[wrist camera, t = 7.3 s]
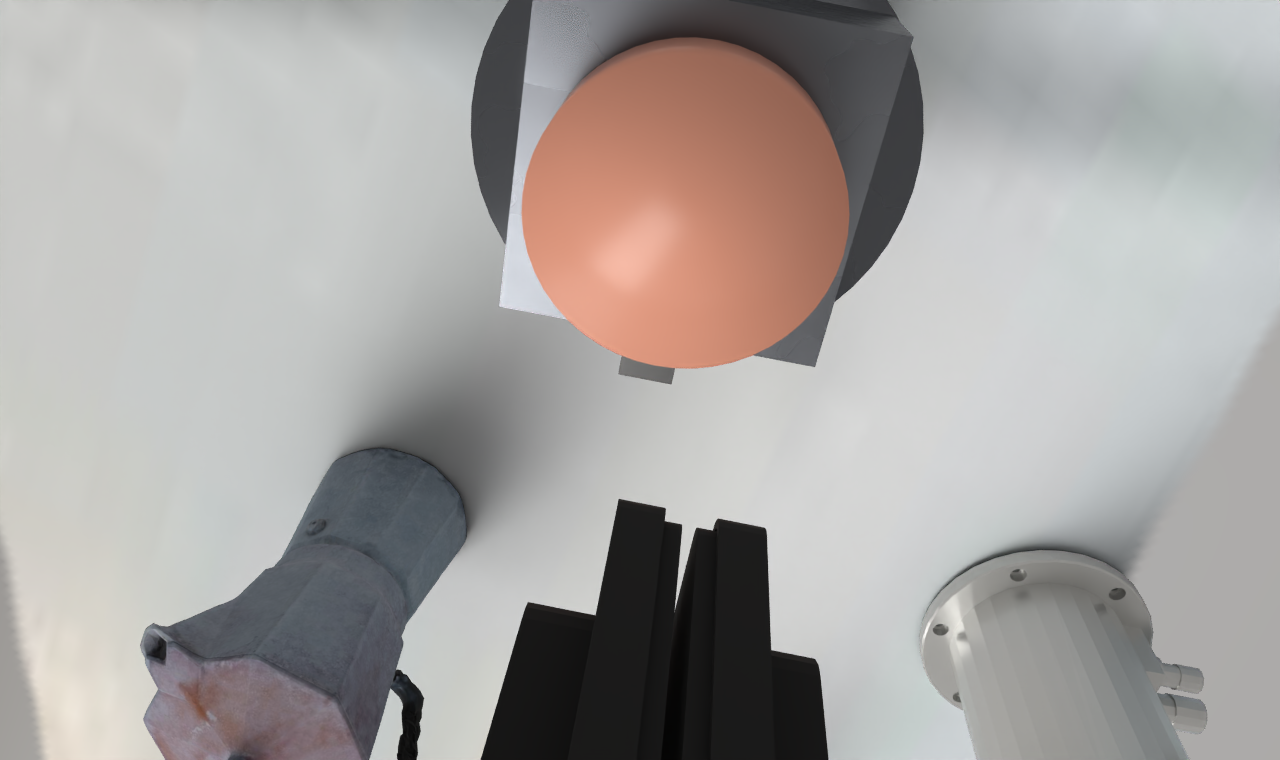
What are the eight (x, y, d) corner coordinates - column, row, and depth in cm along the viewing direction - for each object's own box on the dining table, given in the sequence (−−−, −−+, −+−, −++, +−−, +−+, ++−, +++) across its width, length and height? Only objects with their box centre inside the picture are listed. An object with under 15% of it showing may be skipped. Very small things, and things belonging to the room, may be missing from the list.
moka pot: (356, 375, 51) (163, 649, 34) (550, 560, 56) (469, 881, 39) (245, 464, 55) (19, 754, 37) (437, 631, 60) (316, 955, 42)
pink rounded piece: (858, 40, 24) (891, 92, 19) (789, 294, 27) (802, 393, 22) (581, -14, 24) (541, 23, 19) (546, 247, 27) (506, 337, 22)
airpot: (929, -206, 37) (1126, -255, 18) (803, 254, 46) (850, 526, 28) (592, -273, 37) (452, -388, 18) (534, 202, 46) (403, 441, 28)
